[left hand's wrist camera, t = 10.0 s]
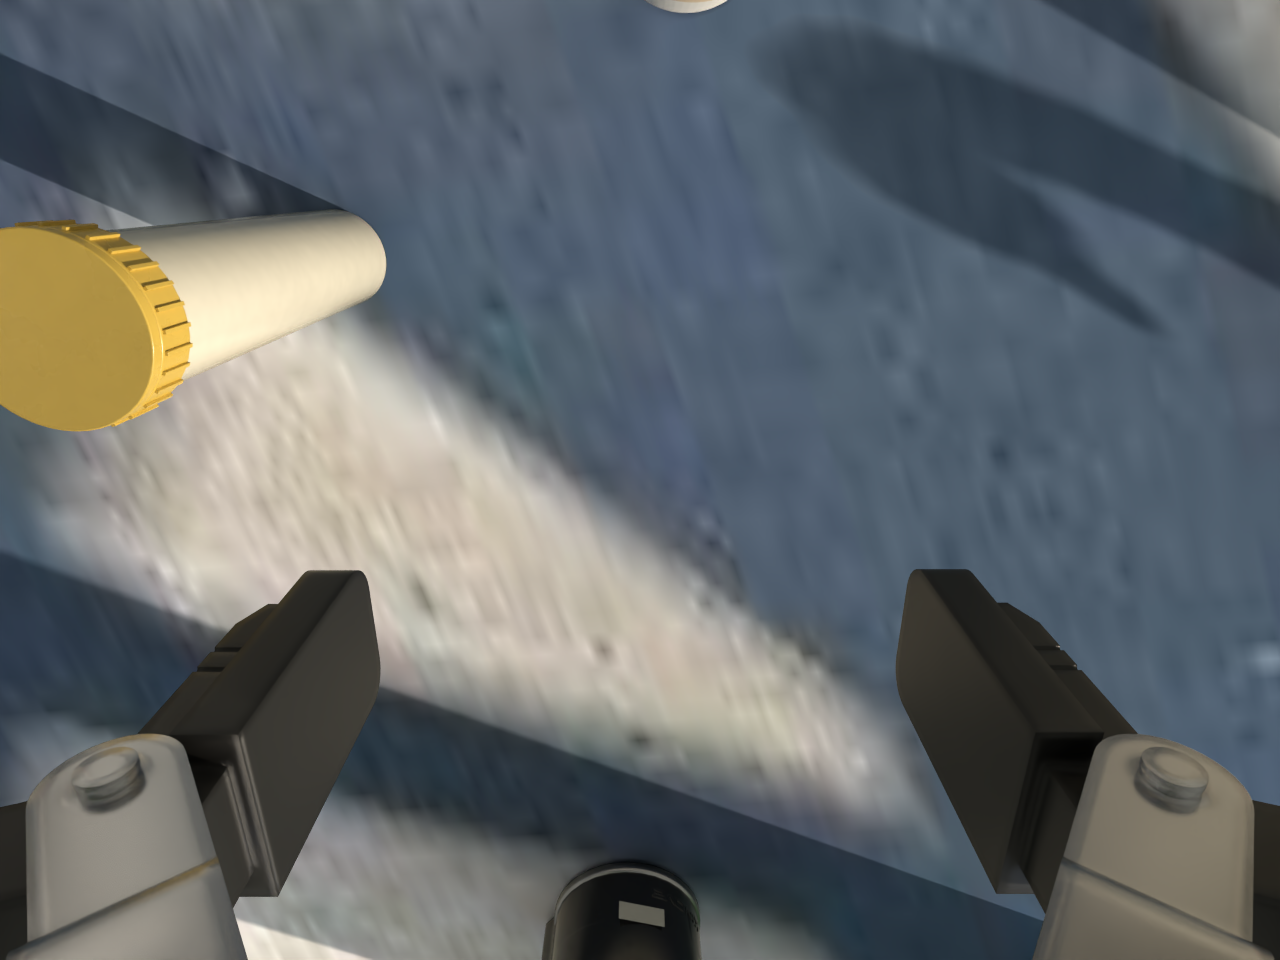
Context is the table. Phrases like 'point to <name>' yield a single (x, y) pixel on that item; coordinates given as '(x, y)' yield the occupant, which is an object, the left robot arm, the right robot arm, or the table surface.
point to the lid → (85, 327)
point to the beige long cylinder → (262, 275)
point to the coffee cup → (685, 5)
